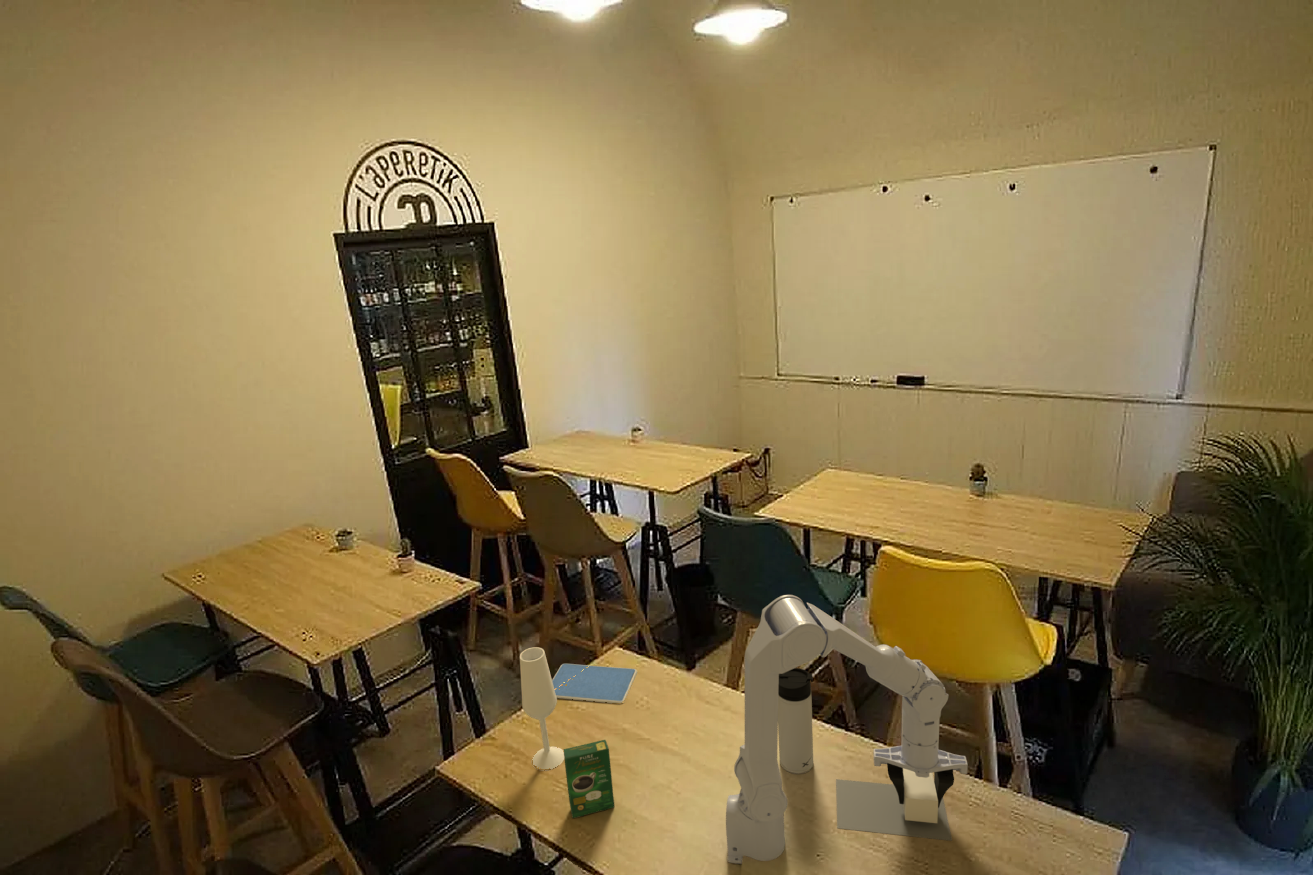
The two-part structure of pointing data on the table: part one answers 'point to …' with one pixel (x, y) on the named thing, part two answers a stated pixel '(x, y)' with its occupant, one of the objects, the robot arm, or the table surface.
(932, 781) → the cream rectangular block
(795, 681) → the travel mug
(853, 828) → the board
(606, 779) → the coffee box
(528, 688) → the champagne flute
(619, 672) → the tablet computer
